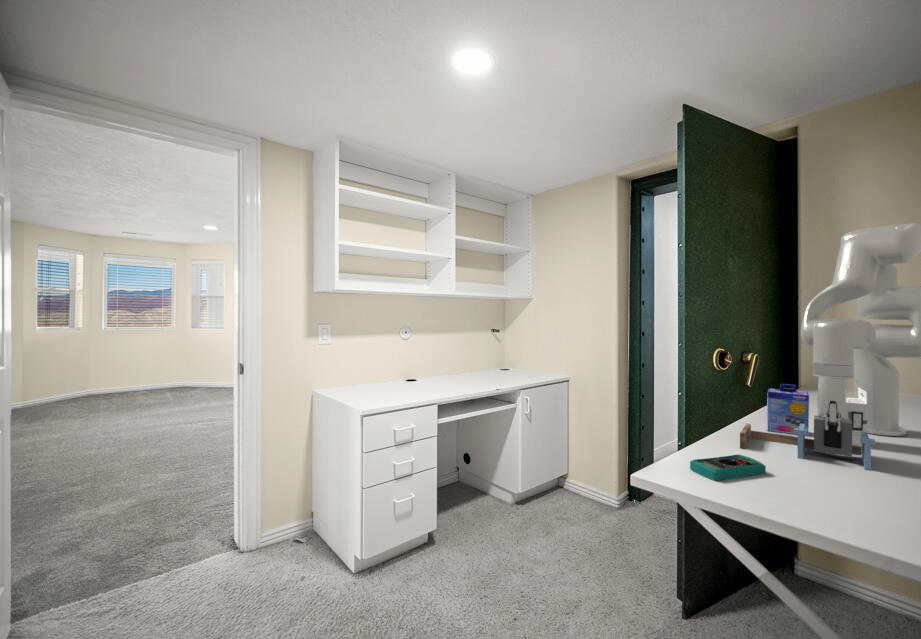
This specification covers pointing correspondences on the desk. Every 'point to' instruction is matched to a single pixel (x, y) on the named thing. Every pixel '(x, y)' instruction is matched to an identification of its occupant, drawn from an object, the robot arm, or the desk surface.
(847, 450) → the charcoal plug
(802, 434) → the pair of blue brackets
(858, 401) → the ink box
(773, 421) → the ink cartridge box
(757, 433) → the brown l-shaped bracket
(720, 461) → the digital multimeter
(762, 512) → the desk surface
